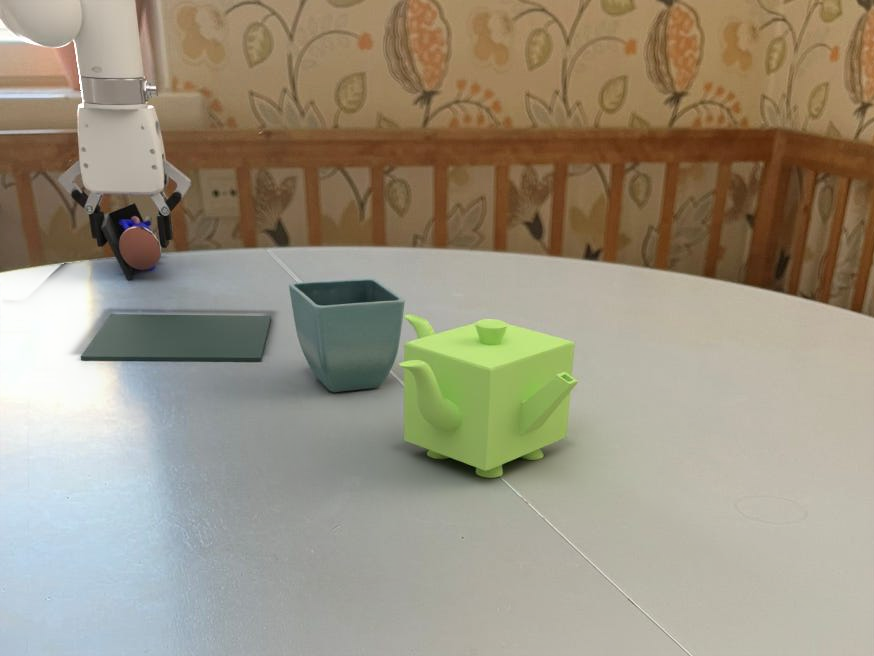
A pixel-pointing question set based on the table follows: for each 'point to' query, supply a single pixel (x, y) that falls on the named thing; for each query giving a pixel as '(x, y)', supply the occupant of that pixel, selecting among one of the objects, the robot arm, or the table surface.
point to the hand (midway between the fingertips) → (133, 244)
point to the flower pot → (348, 330)
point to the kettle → (486, 392)
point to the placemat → (180, 338)
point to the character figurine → (131, 239)
